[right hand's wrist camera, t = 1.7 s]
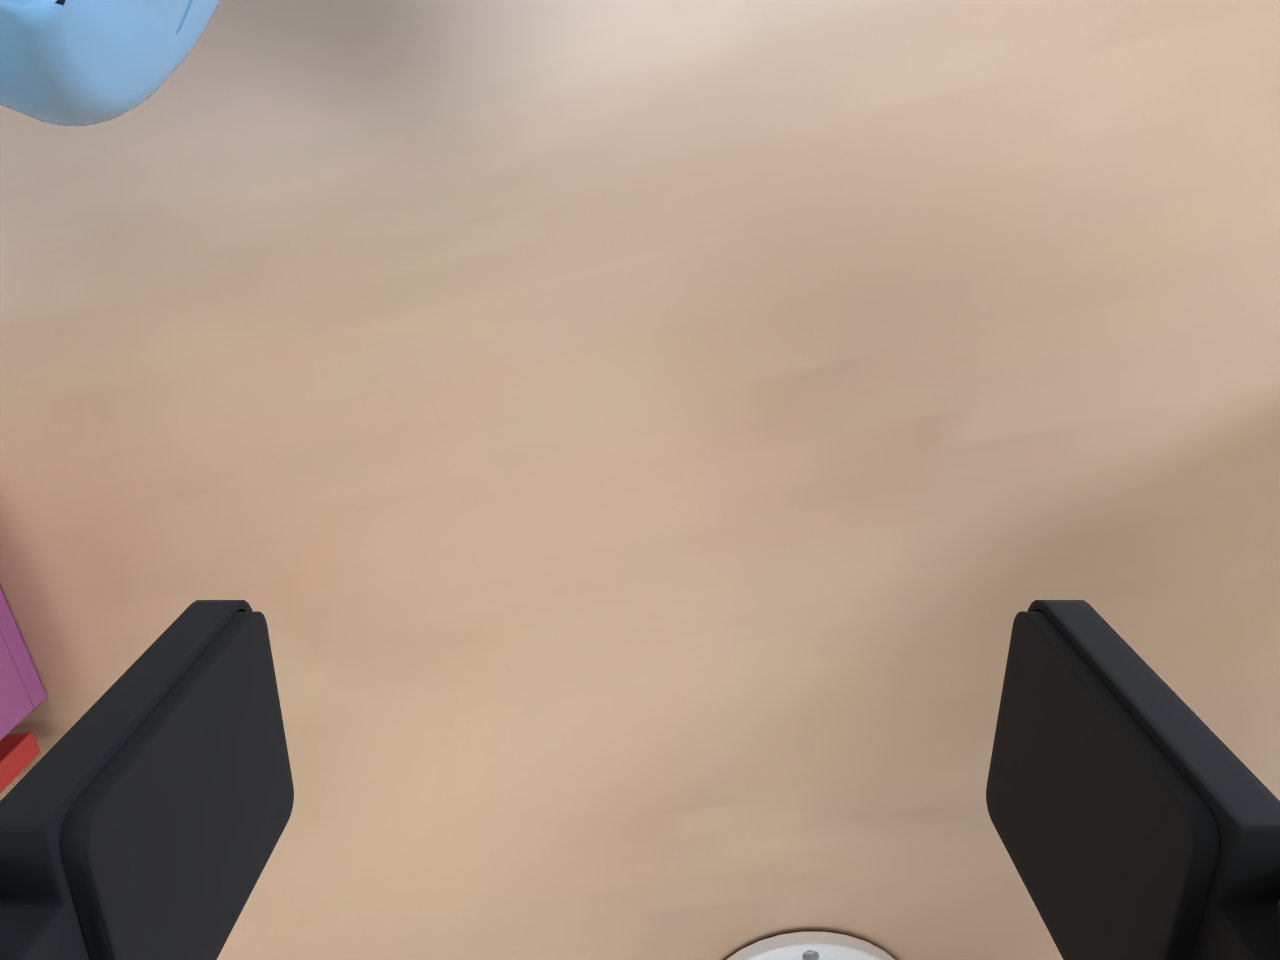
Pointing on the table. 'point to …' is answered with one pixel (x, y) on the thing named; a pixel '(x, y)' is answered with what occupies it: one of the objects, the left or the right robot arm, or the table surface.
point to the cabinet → (15, 674)
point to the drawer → (16, 756)
